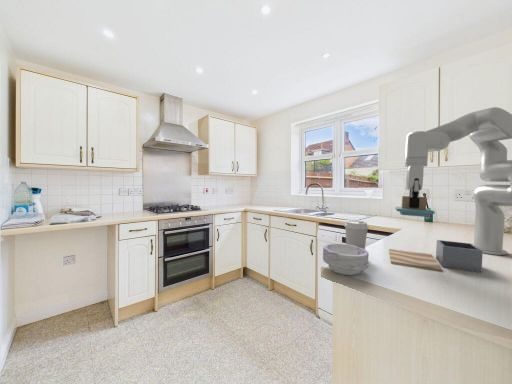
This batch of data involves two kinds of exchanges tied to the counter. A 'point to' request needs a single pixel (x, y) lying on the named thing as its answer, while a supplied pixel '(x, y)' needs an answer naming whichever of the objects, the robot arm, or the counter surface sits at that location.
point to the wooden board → (414, 259)
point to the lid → (414, 211)
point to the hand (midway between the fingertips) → (413, 206)
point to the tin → (459, 256)
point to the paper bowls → (345, 258)
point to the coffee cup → (356, 233)
